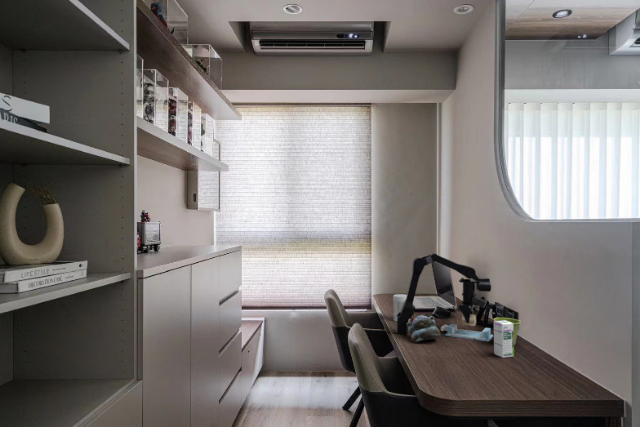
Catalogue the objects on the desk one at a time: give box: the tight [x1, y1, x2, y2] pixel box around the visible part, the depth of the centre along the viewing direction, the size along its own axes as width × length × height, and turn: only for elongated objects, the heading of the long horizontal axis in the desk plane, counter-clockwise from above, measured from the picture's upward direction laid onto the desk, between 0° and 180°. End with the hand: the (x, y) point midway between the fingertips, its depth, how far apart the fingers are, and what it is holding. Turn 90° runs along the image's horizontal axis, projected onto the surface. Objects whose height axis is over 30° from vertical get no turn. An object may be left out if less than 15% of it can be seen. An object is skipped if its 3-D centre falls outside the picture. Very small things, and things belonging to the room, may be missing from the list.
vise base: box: [444, 327, 494, 342], centre depth 213 cm, size 12×21×4 cm, turn 59°
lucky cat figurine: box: [407, 313, 441, 344], centre depth 206 cm, size 15×12×14 cm
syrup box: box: [493, 320, 515, 359], centre depth 182 cm, size 6×6×14 cm
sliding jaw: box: [440, 323, 458, 334], centre depth 219 cm, size 9×6×4 cm
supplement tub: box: [392, 293, 411, 323], centre depth 246 cm, size 10×10×15 cm
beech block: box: [461, 313, 477, 327], centre depth 214 cm, size 4×6×5 cm, turn 59°
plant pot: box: [493, 317, 522, 346], centre depth 199 cm, size 12×12×11 cm
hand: (468, 322), depth 214 cm, fingers closed on beech block, 4 cm apart
